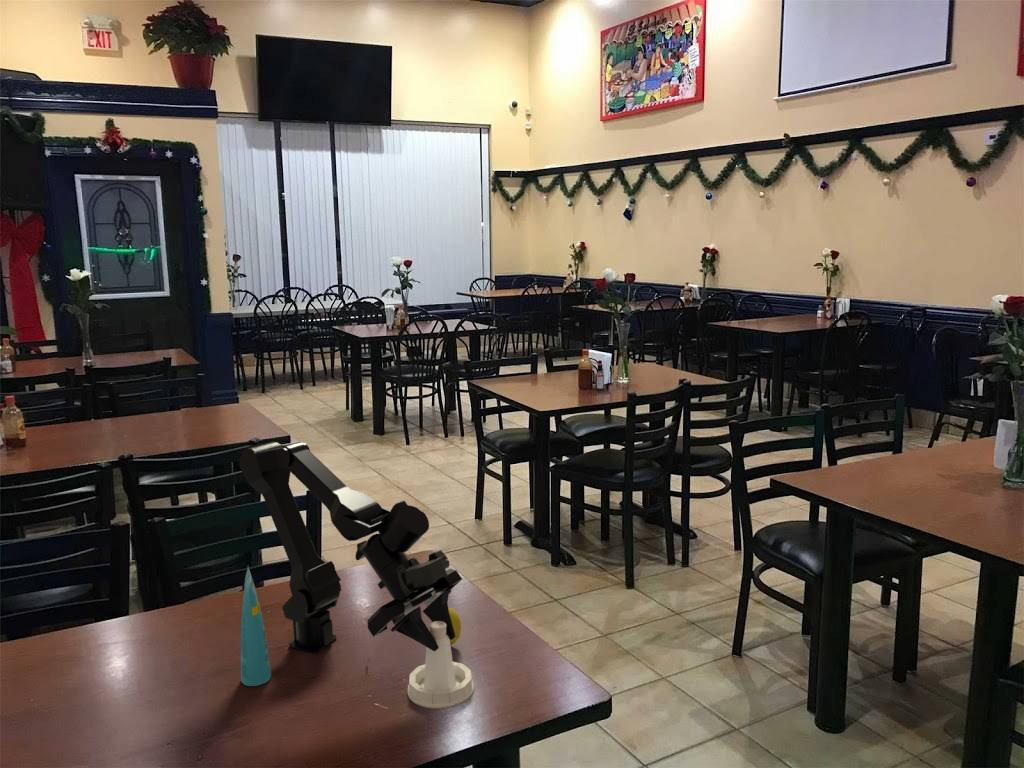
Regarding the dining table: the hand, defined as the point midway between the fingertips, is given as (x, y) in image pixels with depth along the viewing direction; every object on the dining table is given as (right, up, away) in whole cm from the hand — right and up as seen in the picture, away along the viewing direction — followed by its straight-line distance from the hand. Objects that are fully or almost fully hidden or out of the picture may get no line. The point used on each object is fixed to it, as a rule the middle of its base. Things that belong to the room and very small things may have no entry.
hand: (445, 644), depth 132 cm
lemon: (-1, -6, +16) cm, 17 cm away
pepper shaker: (-1, -8, +2) cm, 8 cm away
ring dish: (-1, -8, +2) cm, 9 cm away
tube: (-33, -8, +7) cm, 35 cm away
